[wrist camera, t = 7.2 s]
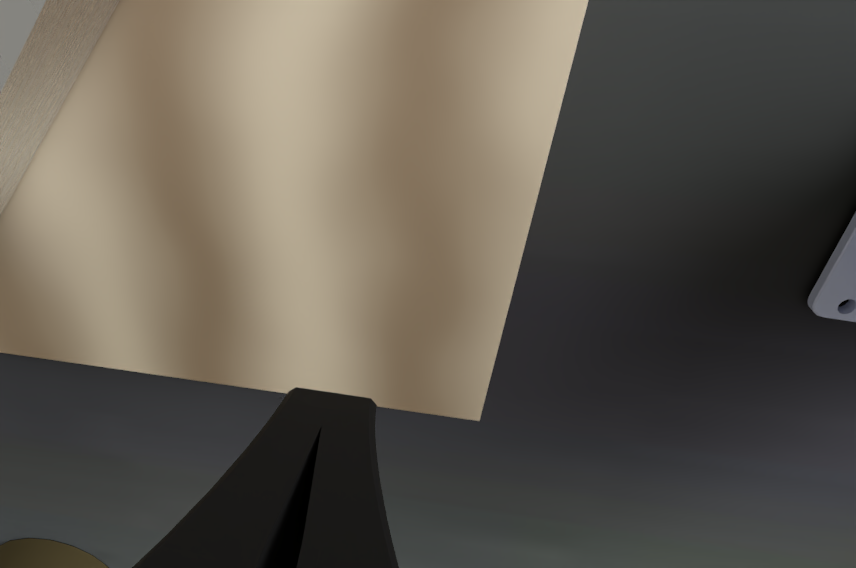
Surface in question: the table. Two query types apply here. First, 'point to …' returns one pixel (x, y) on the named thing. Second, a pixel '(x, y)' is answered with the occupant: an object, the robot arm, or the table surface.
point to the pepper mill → (44, 555)
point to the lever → (39, 72)
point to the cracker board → (292, 195)
